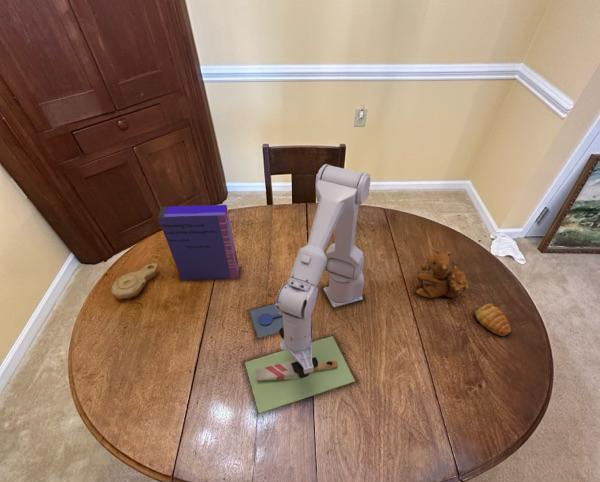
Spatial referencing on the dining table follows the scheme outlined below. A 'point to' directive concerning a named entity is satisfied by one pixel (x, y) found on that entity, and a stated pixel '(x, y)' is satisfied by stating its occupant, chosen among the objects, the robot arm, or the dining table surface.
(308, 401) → the dining table surface
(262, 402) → the brush mat
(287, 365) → the paintbrush
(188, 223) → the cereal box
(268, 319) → the spoon
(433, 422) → the dining table surface
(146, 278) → the oil lamp
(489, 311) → the pastry
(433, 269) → the stuffed squirrel
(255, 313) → the spoon pad
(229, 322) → the dining table surface
